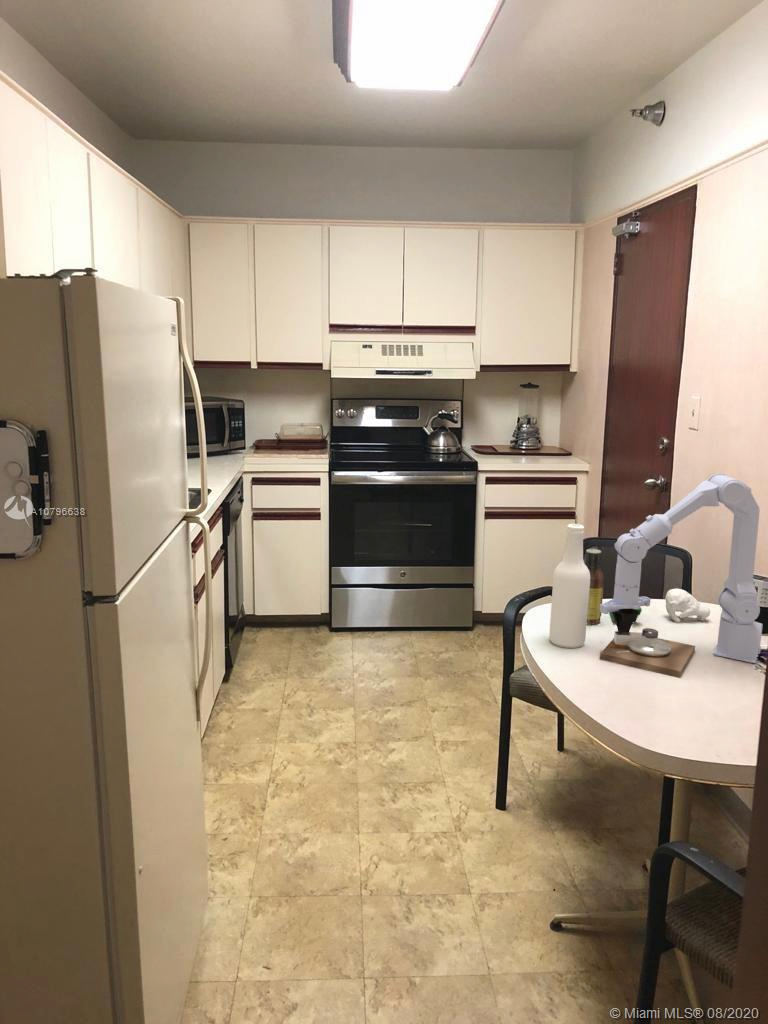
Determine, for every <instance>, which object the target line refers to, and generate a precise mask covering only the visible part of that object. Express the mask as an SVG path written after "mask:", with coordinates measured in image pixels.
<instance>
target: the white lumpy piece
mask: <svg viewBox="0 0 768 1024" xmlns="http://www.w3.org/2000/svg"><path fill="white" fill-rule="evenodd" d="M665 609H666V612H667V614H668V615H669V616H670V617H671V619H672V620H673V622H676V623H677V622H678V623H680V622H681V619H684V618H687V617H693V616H696V618H697V620H698V621H701V622H704V621H705V620H706V619H707V618H708V617H709V616H711V608H710V607H709V606H708V605H706V604H703V603H701V602H699V601H698V600H697V599H696V598H695V597H693V595H692V594H691V593H689V592H688V591H686V590H684V589H682V588H681V589H680V588H672V589H669V590H668V591H667V592H666V595H665ZM676 612H680V613H679V615H676ZM679 617H680V618H681V619H680V618H679Z"/></svg>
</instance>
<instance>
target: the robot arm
mask: <svg viewBox="0 0 768 1024" xmlns="http://www.w3.org/2000/svg"><path fill="white" fill-rule="evenodd" d="M719 503H721V504H723V505H724V507H725V508H727V509H728V510H729V512H731V514H733V519H732V521H733V523H732V534H731V546H730V556H729V564H728V565H729V567H728V578H726V580H724V582H723V586H722V590H721V592H720V593H719V595H718V598H717V599H718V600H717V601H718V602H717V603H718V605H719V607H720V608H721V613H720V619H719V627H718V635H717V643H716V644H715V647H714V649H713V651H712V655H713V656H719V657H722V658H723V657H724V658H728V659H731V660H738V661H742V662H747V663H751V664H756V663H757V661H758V658H759V655H760V654H761V648H762V646H761V641H762V633H763V623H761V622H758V621H755V620H756V619H758V617H759V615H760V612H761V608H760V605H759V602H758V593H757V590H756V587H755V585H754V573H755V561H756V554H757V553H756V551H757V542H758V541H757V540H758V532H759V522H760V506H759V505H758V503H757V501H756V499H755V497H754V495H753V494H752V488H751V487H750V486H749V485H747V484H746V483H745V482H743V481H741V480H739V479H736V478H733V477H730V476H729V475H727V474H725V473H721V472H720V473H715V474H712V475H711V476H710V477H708V479H704V481H702V482H700V483H699V485H698V486H696V488H695V489H693V490H692V491H691V492H690V493H689V494H687V495H686V496H685V497H683V498H682V499H681V500H679V501H678V502H677V503H676V504H675V505H674V506H672V507H671V508H669V509H668V510H667V511H666V512H665V513H664V514H663V513H662V514H661V513H660V514H658V513H655V514H653V515H651V514H649V515H648V516H646V517H645V519H646V520H645V521H643V522H642V523H641V524H639V525H638V526H637V527H635V528H631V529H630V530H629V533H623V534H621V535H620V536H619V537H618V538H617V541H616V542H614V549H615V550H616V552H617V557H616V564H615V565H616V567H615V575H614V576H615V577H614V589H613V596H614V599H613V598H611V599H610V600H608V601H606V602H602V604H600V612H601V614H604V615H608V614H609V613H610V612H612V614H613V616H614V618H615V621H616V623H615V624H616V628H617V631H620V632H631V631H630V630H631V628H632V625H633V624H634V623H633V622H634V620H635V619H636V618H637V619H638V617H639V616H640V615H639V611H638V610H635V609H640V607H650V606H651V598H650V597H648V596H643V595H642V596H639V595H640V586H641V574H642V562H643V559H645V557H646V556H647V553H648V551H649V549H651V548H653V547H654V546H656V545H657V544H658V543H659V542H662V540H664V539H665V538H667V537H668V536H670V535H671V534H672V531H673V527H674V526H675V525H676V524H678V523H679V522H681V521H683V520H684V519H685V518H687V517H688V516H690V515H692V514H693V513H695V512H697V511H698V510H700V509H701V508H704V507H720V504H719ZM637 616H638V617H637ZM758 654H759V655H758ZM757 657H758V658H757ZM756 660H757V661H756Z"/></svg>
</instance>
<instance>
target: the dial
mask: <svg viewBox="0 0 768 1024" xmlns="http://www.w3.org/2000/svg"><path fill="white" fill-rule="evenodd" d="M658 637H659V631H658V630H657V629H654V628H650V627H649V628H648V627H645V628H643V629H642V631H641V632H635V631H634V632H633V631H629V632H620V631H618V630H615V631H614V635H613V638H614V642H615V644H619V645H627V647H628V649H630V650H631V651H633V652H635V653H638V654H641V655H646V656H653V657H660V656H666V655H669V654H670V653H671V646H670V644H668V643H667V642H665V641H663V640H660V639H661V638H660V639H656V638H658Z"/></svg>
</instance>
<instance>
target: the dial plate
mask: <svg viewBox="0 0 768 1024" xmlns="http://www.w3.org/2000/svg"><path fill="white" fill-rule="evenodd" d="M656 639H660V640H663V641H665V642H667V643H668V644H670V646H671V653H670V654H669V655H666V656H660V657H653V656H646V655H641V654H638V653H635V652H633V651H631V650H630V649H628V647H627V645H619V644H615V642H614V637H613V638H612V639H611V640H610V642H609V643H608V644H607V645H606V646H605V648H604V649H602V650H601V652H600V655H599V660H601V661H606V662H610V663H614V664H619V665H624V666H628V667H634V668H637V669H639V670H640V669H641V670H646V671H650V672H655V673H659V674H661V675H662V674H663V675H667V676H672V677H677V678H681V677H682V675H683V673H684V671H685V669H686V667H687V666H688V664H689V662H690V660H691V659H692V657H693V655H694V654H695V651H696V645H693V644H689V643H683V642H680V641H679V642H678V641H674V640H669V639H664V638H656Z"/></svg>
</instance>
